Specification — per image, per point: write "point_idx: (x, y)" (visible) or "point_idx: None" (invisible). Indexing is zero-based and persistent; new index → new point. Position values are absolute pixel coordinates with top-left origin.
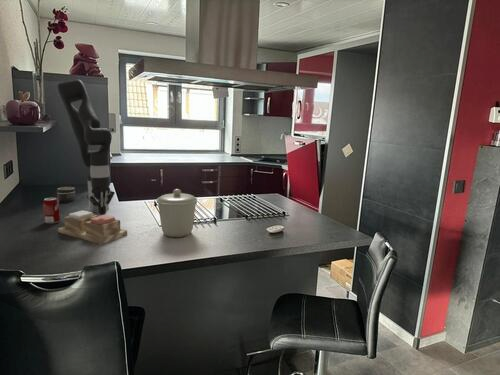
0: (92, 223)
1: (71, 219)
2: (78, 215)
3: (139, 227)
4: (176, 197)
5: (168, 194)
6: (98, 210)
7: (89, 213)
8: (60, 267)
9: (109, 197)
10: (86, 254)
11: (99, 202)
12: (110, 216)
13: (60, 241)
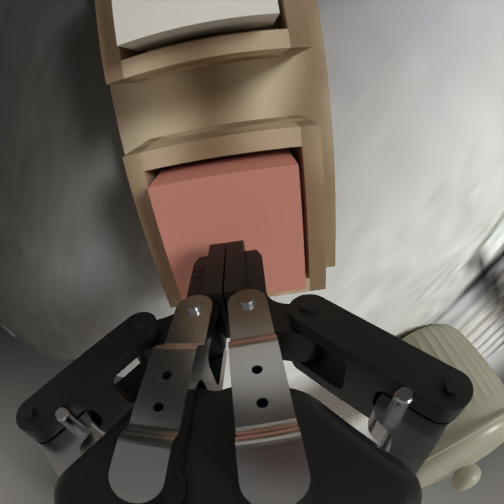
0: (149, 224)
1: (97, 1)
2: (122, 18)
3: (436, 208)
4: (433, 482)
5: (481, 451)
6: (191, 280)
7: (233, 17)
8: (30, 329)
9: (347, 399)
10: (93, 312)
11: (205, 339)
12: (301, 251)
13: (49, 106)
